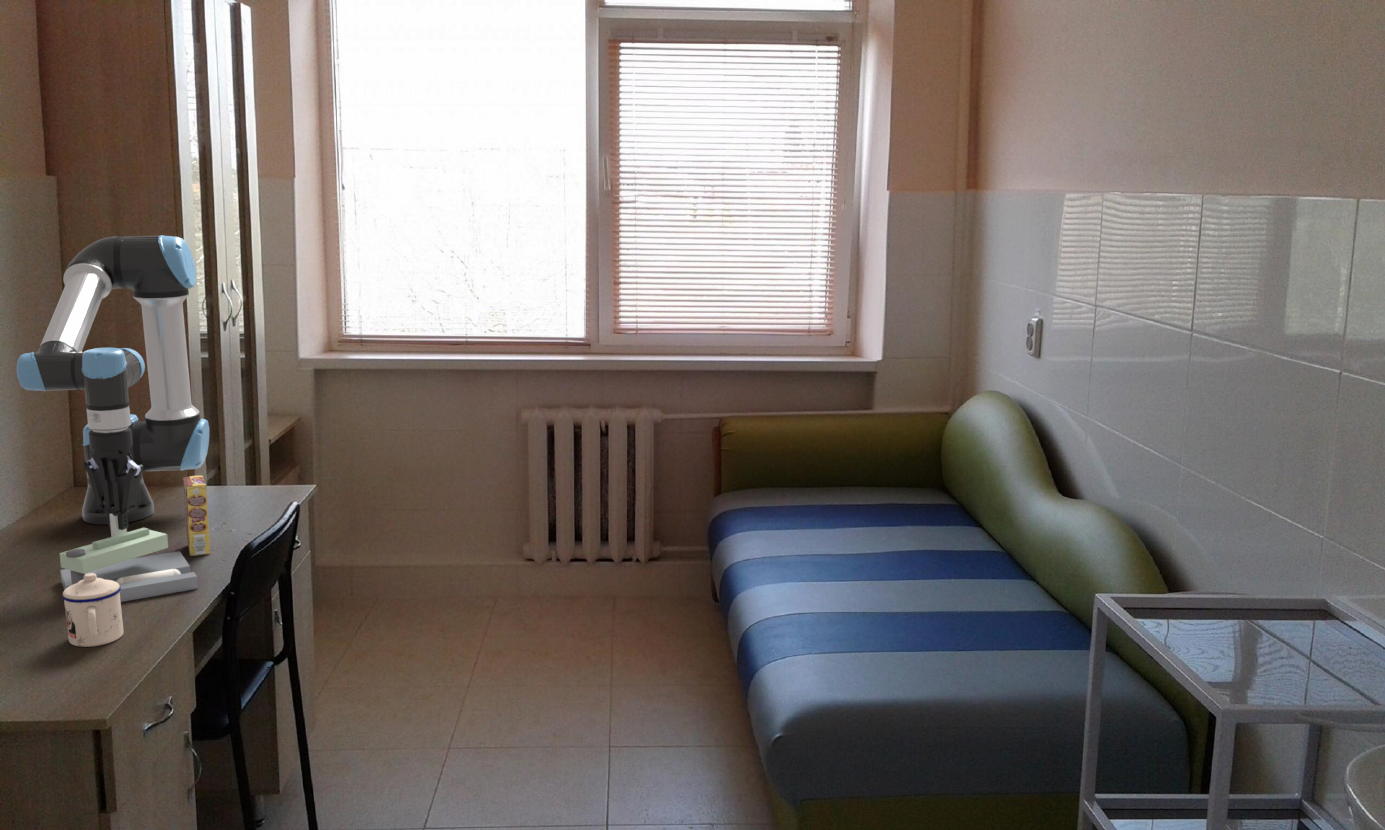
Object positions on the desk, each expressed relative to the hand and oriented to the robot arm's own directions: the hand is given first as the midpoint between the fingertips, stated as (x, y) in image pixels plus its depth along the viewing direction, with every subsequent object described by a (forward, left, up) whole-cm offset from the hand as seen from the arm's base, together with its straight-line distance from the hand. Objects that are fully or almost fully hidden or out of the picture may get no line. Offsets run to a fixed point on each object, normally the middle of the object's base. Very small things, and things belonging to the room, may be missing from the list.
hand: (120, 544), depth 238 cm
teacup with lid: (+32, -9, -7) cm, 34 cm away
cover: (+6, -2, -1) cm, 6 cm away
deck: (+5, 0, -7) cm, 9 cm away
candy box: (-11, +16, -7) cm, 21 cm away
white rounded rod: (+9, +3, -5) cm, 11 cm away
